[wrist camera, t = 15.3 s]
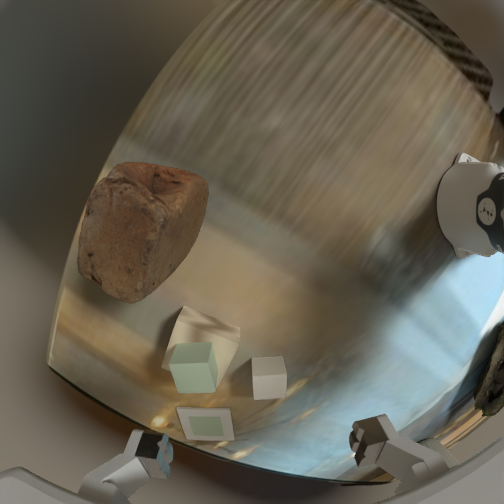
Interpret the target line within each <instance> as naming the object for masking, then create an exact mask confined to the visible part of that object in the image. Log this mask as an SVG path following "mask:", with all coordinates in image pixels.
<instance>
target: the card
mask: <svg viewBox="0 0 504 504" xmlns="http://www.w3.org/2000/svg"><path fill="white" fill-rule="evenodd" d="M176 409H177V412H178V415H179V418H180V421H181V424H182V427H183V430H184V433H185V436H186V439H187V440H207V441H235V436H234V430H233V424H232V418H231V411H230V408H196V407H177V408H176Z"/></svg>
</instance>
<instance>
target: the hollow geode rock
mask: <svg viewBox="0 0 504 504" xmlns="http://www.w3.org/2000/svg"><path fill="white" fill-rule="evenodd" d="M473 395H474V399H475V401H476V402H475V405H474V407H475V410H476V409H480V410H482V413H483V414H482V416H493V415H495V414H496V413H498V412H499V411H500V409H502V408H503V406H504V325H503V326H501V327H499V331H498V339H497V343H496V347H495V349H494V351H493V353H492V355H491V359H490V361H489V362H488V363H487V366H486V368H485V370H484V372H483V373H482V375H481V377H480V379H479V381H478V383H477V386H476V388H475V390H474V394H473Z"/></svg>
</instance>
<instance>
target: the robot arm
mask: <svg viewBox="0 0 504 504" xmlns="http://www.w3.org/2000/svg"><path fill="white" fill-rule="evenodd" d="M437 215H438V220H439V224H440V227H441V230H442V232H443V234H444V235H445V237H446V238H447V239H448V240H449V242H450V243H451V244H452V245H453V247H454V250H455V253H456V255H457V257H458V258H465V257H467V256H470V255H472V254H478V255H482V256H485V257H490V256H491V255H493V254H495V253H496V252H498V251H499V252H502V253H503V254H504V168H503V167H501V166H497V165H496V164H494V163H488V162H480V161H478V160H476V159H475V158H473V157H471V156H469V155H467V154H466V153H459V154H458V155H457V158H456V160H455V163H454V165H453V166H452V167H451V168H450V169H449V170H448V171H447V172H446V173H445V175H444V176H443V178H442V180H441V183H440V186H439V190H438V195H437ZM352 428H353V431H352V432H351V433H350V436H349V443H350V447H351V450H352V451H354V452H355V453H356V454H355V457H354V458H355V460H356V463H357V466H358V467H362V466H366V465H370V464H374V463H375V464H376V465H378V466H379V467H381V468H382V469H383V470H385V471H386V472H388V473H389V474H391V475H392V476H394V477H395V478H397V479H398V480H400V481H401V483H400V484H399V486H398V487H397V488H396V490H395V491H394V492H395V494H396V495H395V496H392V497H390V498H387V499H384V500H381V501H378V502H375V503H372V504H504V437H501V438H499V439H497V440H496V441H495V442H493V443H492V444H490V445H489V446H488V447H486V448H485V449H483V450H482V451H480V452H479V453H477V454H476V455H474V456H473V457H471V458H470V459H468V460H466V461H465V462H463V463H461V464H460V465H458V466H456V467H454V468H453V469H451V470H450V469H449V467H448V466H447V464H446V463H445V461H444V459H443V458H442V456H441V455H440V453H439V452H436V451H434V450H432V449H429V448H427V447H425V446H423V445H420V444H418V443H416V442H414V441H412V440H410V439H408V438H405V437H403V436H400V437H399V435H398V433H397V432H396V430H395V428H394V427H393V425H392V423H391V421H390V420H389V418H388V416H387V415H386V414H382V415H379V416H375V417H371V418H367V419H363V420H359V421H355V422H354V423H353V426H352ZM168 439H169V438H168V436H167V434H165V433H157V432H150V431H144V430H137V429H134V430H133V431H132V434H131V436H130V438H129V441H128V443H127V445H126V448H125V450H124V453H123V454H121V453H120V454H119V455H117V456H116V457H114V458H113V459H111V460H109V461H108V462H106V463H105V464H103V465H101V466H100V467H98V468H97V469H95V470H93V471H92V472H90V473H88V474H87V475H86V476H85V478H84V480H83V482H82V485H81V487H80V489H79V492H78V494H77V493H74V492H72V491H70V490H67V489H65V488H63V487H60V486H58V485H56V484H54V483H52V482H50V481H48V480H45V479H44V478H42V477H40V476H38V475H36V474H34V473H32V472H30V471H29V470H27V469H25V468H23V467H15V468H11V469H7V470H5V471H2V472H0V504H132V503H131V502H130V501H129V500H128V498H129V497H130V496H131V495H132V494H134V493H135V492H136V491H137V490H138V489H139V488H140V487H141V486H142V485H143V484H145V483H146V482H147V481H148V480H149V479H150V477H153V478H160V479H168V477H169V472H170V467H169V465H168V464H169V463H171V462H172V459H173V448H172V445H171V443H169V442H168Z"/></svg>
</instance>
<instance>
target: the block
mask: <svg viewBox="0 0 504 504" xmlns="http://www.w3.org/2000/svg"><path fill="white" fill-rule="evenodd" d="M208 195H209V189H208V184H207V182H206V180H205V179H204V178H202V177H201V176H199V175H197V174H195V173H192V172H189V171H185V170H181V169H177V168H173V167H167V166H162V165H156V164H149V163H142V162H125V163H122V164H118V165H116V166H115V167H114V168H113V169H112V170H111V172H110V173H109V174H108V176H107V177H105V178H103V179H102V180H101V181H100V182H99V183H98V184H97V185H96V186H95V187H94V189H93V190H92V192H91V194H90V197H89V199H88V203H87V207H86V212H85V216H84V220H83V222H82V227H81V233H80V237H79V251H78V261H77V263H78V271H79V273H80V274H81V275H82V276H83V277H84V278H86V279H89V280H91V281H92V282H94V283H96V284H98V285H99V286H100V287H101V289H102V290H103V291H105V292H106V293H107V294H109V295H110V296H112V297H113V298H115V299H117V300H121V301H124V302H127V303H136V302H138V301H140V300H142V299H144V298H145V297H146V296H148V295H149V294H151V293H152V292H153V291H154V290H155V289H157V287H158V286H159V285H161V284H162V283H163V282H164V281H165V280H166V279H167V278H168V277H169V276H170V275H171V274H172V273H173V272H174V271H175V270H176V269H177V267H178V266H179V265H180V264H181V262H182V261H183V260H184V259H185V258H186V256H187V255H188V253H189V252H190V250H191V248H192V246H193V245H194V243H195V241H196V239H197V236H198V234H199V231H200V228H201V225H202V222H203V219H204V216H205V211H206V205H207V199H208Z"/></svg>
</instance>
